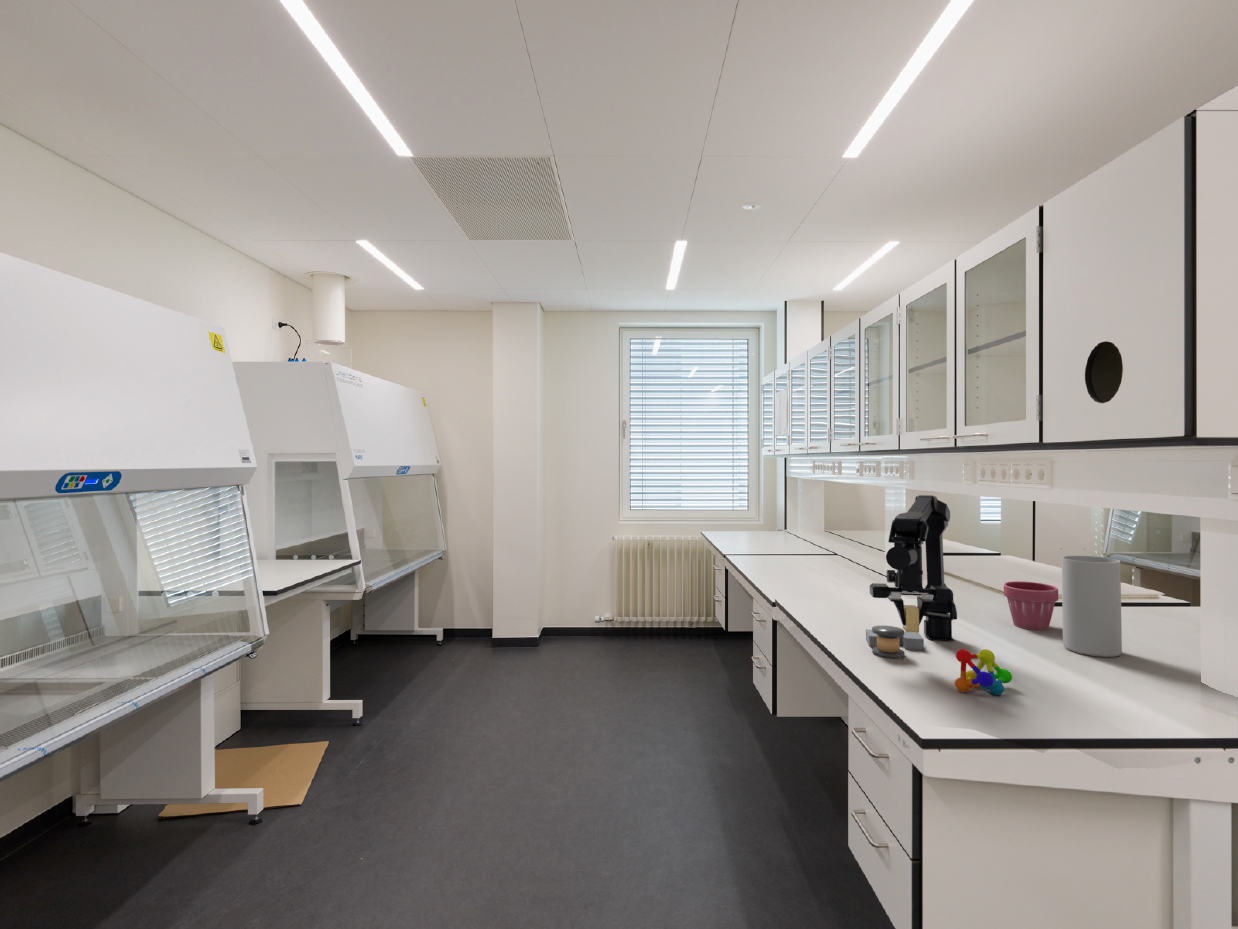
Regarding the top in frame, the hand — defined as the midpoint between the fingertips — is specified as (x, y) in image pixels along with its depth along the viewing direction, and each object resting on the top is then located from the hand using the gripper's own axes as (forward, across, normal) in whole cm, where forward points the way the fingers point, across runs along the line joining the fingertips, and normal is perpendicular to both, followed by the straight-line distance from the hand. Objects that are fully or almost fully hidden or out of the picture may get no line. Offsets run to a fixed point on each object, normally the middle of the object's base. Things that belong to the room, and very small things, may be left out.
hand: (910, 625), depth 151 cm
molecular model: (+11, -12, +15) cm, 22 cm away
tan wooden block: (+1, 0, 0) cm, 1 cm away
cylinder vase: (+10, -50, -22) cm, 56 cm away
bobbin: (+10, +4, -8) cm, 14 cm away
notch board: (+10, +1, -17) cm, 20 cm away
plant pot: (+10, -44, -46) cm, 65 cm away
